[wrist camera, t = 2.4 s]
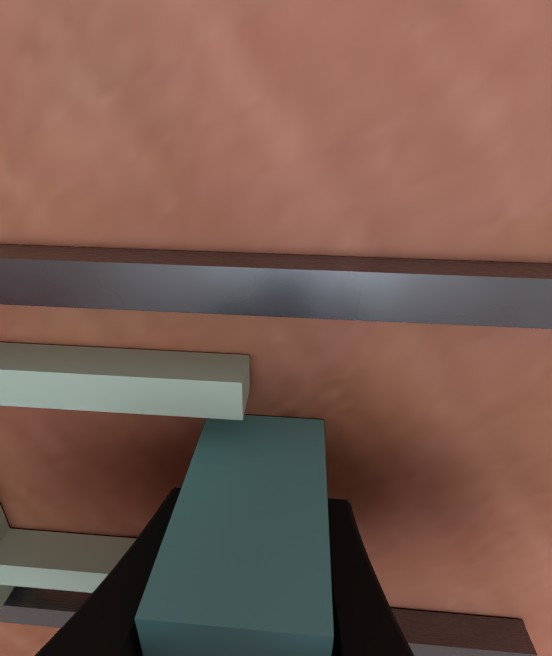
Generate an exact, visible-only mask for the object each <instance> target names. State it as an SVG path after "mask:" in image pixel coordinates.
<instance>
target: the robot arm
mask: <svg viewBox="0 0 552 656" xmlns="http://www.w3.org/2000/svg"><path fill="white" fill-rule="evenodd" d="M180 491H181V488H174V489H172V490H171V491H170V493H169V494H168V496H167V497H166V499H165V500H164V502H163V503H162V504H161V506H160V507H159V509H158V510H157V512H156V513H155V514H154V516H153V517H152V519H151V520H150V521H149V523H148V524H147V525H146V527H145V528H144V529H143V531H142V532H141V534H140V535H139V536H138V538H137V539H136V540H135V541H134V543H133V544H132V545H131V547H130V548H129V549H128V550H127V552H126V553H125V554H124V555H123V557H122V558H121V559H120V560H119V562H118V563H117V564H116V566H115V567H114V568H113V569H112V570H111V572H110V573H109V574H108V575H107V577H106V578H105V579H104V580H103V581H102V582H101V584H100V585H99V586H98V587H97V588H96V589H95V591H94V592H93V593H92V594H91V595H90V596H89V597H88V599H87V600H86V601H85V602H84V603H83V604H82V606H81V607H80V608H79V609H78V610H77V611H76V612H75V614H74V615H73V616H72V617H71V618H70V619H69V620H68V621H67V622H66V623H65V624H64V626H63V627H62V628H61V629H60V630H59V631H58V632H57V633H56V634H55V635H54V636H53V637H52V638H51V639H50V640H49V641H48V642H47V643H46V645H45V646H44V647H43V648H42V649H41V650H40V651H39V652H38V653H37V654H36V655H35V656H143V653H142V648H141V644H140V640H139V636H138V631H137V627H136V623H135V616H136V613H137V610H138V608H139V605H140V602H141V599H142V596H143V594H144V591H145V588H146V585H147V583H148V580H149V577H150V574H151V571H152V569H153V566H154V563H155V560H156V558H157V555H158V552H159V549H160V546H161V544H162V541H163V538H164V535H165V532H166V530H167V527H168V524H169V521H170V519H171V516H172V513H173V510H174V507H175V505H176V502H177V499H178V496H179V494H180ZM328 520H329V542H330V564H331V586H332V607H333V629H334V640H333V647H332V655H331V656H414V654H413V652H412V650H411V648H410V646H409V644H408V642H407V640H406V638H405V636H404V634H403V632H402V630H401V628H400V626H399V624H398V622H397V620H396V618H395V616H394V614H393V612H392V610H391V608H390V606H389V604H388V601H387V599H386V597H385V595H384V592H383V590H382V588H381V586H380V583H379V581H378V579H377V577H376V574H375V572H374V570H373V567H372V565H371V562H370V560H369V558H368V555H367V552H366V550H365V547H364V545H363V542H362V539H361V536H360V534H359V531H358V528H357V525H356V522H355V518H354V515H353V512H352V508H351V504H350V503H349V502H348V501H347V500H341V499H328Z"/></svg>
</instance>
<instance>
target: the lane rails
mask: <svg viewBox="0 0 552 656" xmlns="http://www.w3.org/2000/svg"><path fill="white" fill-rule="evenodd" d="M0 304H7V305H29V306H52V307H74V308H96V309H118V310H141V311H163V312H185V313H207V314H230V315H252V316H274V317H296V318H319V319H341V320H363V321H385V322H408V323H430V324H452V325H474V326H497V327H519V328H541V329H552V264H542V263H513V262H485V261H457V260H429V259H401V258H372V257H344V256H316V255H288V254H260V253H231V252H203V251H175V250H147V249H119V248H91V247H62V246H34V245H6V244H0ZM91 594H92V593H88V592H77V591H65V590H54V589H43V588H32V587H21V586H15V587H14V589H13V590H12V592H11V593H10V595H9V597H8V598H7V600H6V601H5V603H4V604H3V606H2V607H1V609H0V622H7V623H18V624H28V625H39V626H49V627H60V628H62V627H63V626H64V624H65V623H66V622H67V621H68V620H69V619H70V618H71V617H72V616H73V615H74V614H75V612H76V611H77V610H78V609H79V608H80V607H81V606H82V604H83V603H84V602H85V601H86V600H87V599H88V597H89V596H90V595H91ZM391 610H392V612H393V614H394V616H395V618H396V620H397V622H398V624H399V626H400V628H401V630H402V632H403V634H404V636H405V638H406V640H407V642H408V644H409V646H410V648H411V650H412V652H413V654H414V656H537V653H536V651H535V648H534V646H533V644H532V641H531V639H530V637H529V635H528V632H527V630H526V628H525V625H524V623H523V621H522V620H519V619H508V618H496V617H485V616H473V615H462V614H451V613H439V612H428V611H416V610H405V609H394V608H391Z"/></svg>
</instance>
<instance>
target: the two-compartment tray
mask: <svg viewBox="0 0 552 656" xmlns="http://www.w3.org/2000/svg"><path fill="white" fill-rule="evenodd" d="M249 392H250V362H249V355H239V354H220V353H200V352H181V351H161V350H141V349H122V348H102V347H82V346H63V345H43V344H24V343H4V342H0V405H1V406H17V407H33V408H50V409H66V410H83V411H99V412H116V413H132V414H148V415H165V416H181V417H198V418H206V421H205V424H204V427H203V430H202V432H201V435H200V438H199V441H198V443H197V446H196V449H195V452H194V455H193V457H192V460H191V463H190V466H189V468H188V471H187V474H186V477H185V480H184V482H183V485H182V488H181V491H180V494H179V496H178V499H177V502H176V505H175V507H174V510H173V513H172V516H171V519H170V521H169V524H168V527H167V530H166V532H165V535H164V538H163V541H162V544H161V546H160V549H159V552H158V555H157V558H156V560H155V563H154V566H153V569H152V571H151V574H150V577H149V580H148V583H147V585H146V588H145V591H144V594H143V596H142V599H141V602H140V605H139V608H138V610H137V613H136V616H135V623H136V627H137V631H138V636H139V640H140V644H141V648H142V653H143V656H331V655H332V647H333V640H334V629H333V607H332V586H331V564H330V542H329V520H328V498H327V476H326V455H325V433H324V420H320V419H303V418H287V417H270V416H254V415H244V413H245V409H246V404H247V400H248V396H249ZM135 540H136V539H135V538H123V537H110V536H98V535H86V534H73V533H61V532H48V531H36V530H23V529H11V528H9V525H8V523H7V520H6V518H5V515H4V513H3V510H2V508H1V505H0V609H1V607H2V606H3V604H4V603H5V601H6V600H7V598H8V597H9V595H10V593H11V592H12V590H13V589H14V587H15V586H21V587H32V588H43V589H54V590H65V591H77V592H88V593H93V592H94V591H95V589H96V588H97V587H98V586H99V585H100V584H101V582H102V581H103V580H104V579H105V578H106V577H107V575H108V574H109V573H110V572H111V570H112V569H113V568H114V567H115V566H116V564H117V563H118V562H119V560H120V559H121V558H122V557H123V555H124V554H125V553H126V552H127V550H128V549H129V548H130V547H131V545H132V544H133V543H134V541H135Z"/></svg>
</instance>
